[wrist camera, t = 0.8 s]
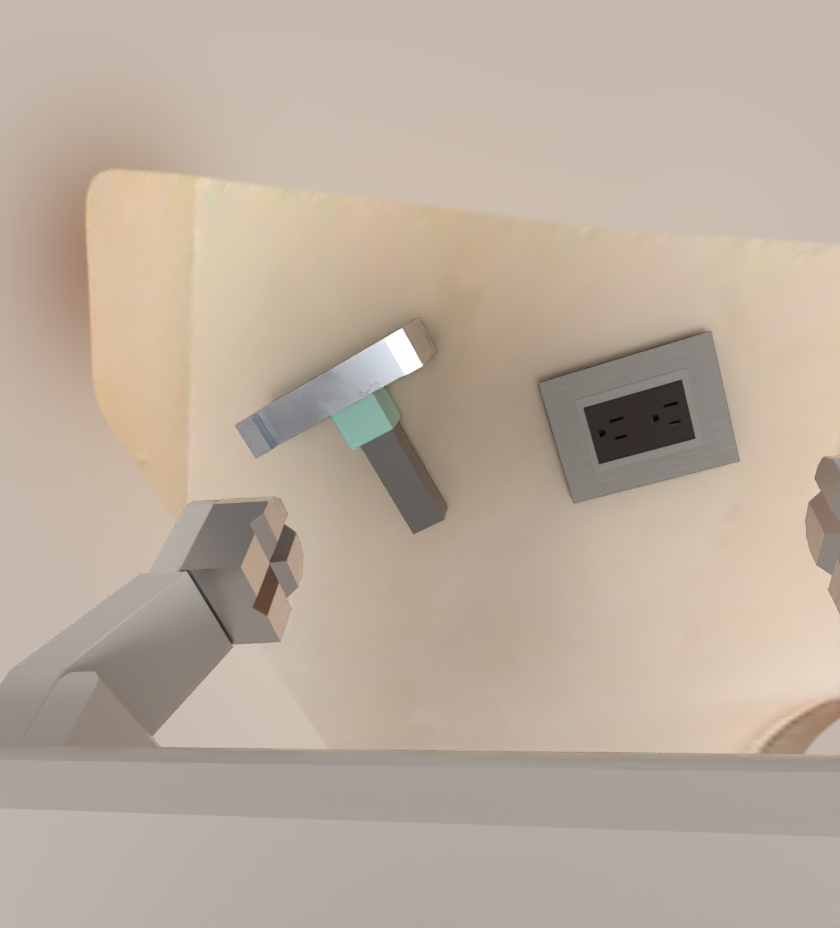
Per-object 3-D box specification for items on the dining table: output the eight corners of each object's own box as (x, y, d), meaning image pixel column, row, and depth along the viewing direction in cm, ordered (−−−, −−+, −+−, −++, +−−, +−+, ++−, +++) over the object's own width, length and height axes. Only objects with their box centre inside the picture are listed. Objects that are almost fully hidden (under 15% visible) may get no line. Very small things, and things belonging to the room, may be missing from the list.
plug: (452, 504, 58) (447, 521, 54) (414, 522, 59) (406, 541, 55) (371, 363, 55) (359, 371, 51) (332, 385, 56) (318, 395, 52)
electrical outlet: (571, 494, 56) (573, 504, 54) (537, 378, 53) (538, 384, 51) (731, 453, 53) (741, 462, 51) (703, 328, 50) (712, 332, 48)
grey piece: (437, 349, 53) (423, 365, 46) (290, 431, 58) (255, 458, 50) (419, 317, 53) (402, 328, 45) (272, 402, 57) (234, 425, 50)
